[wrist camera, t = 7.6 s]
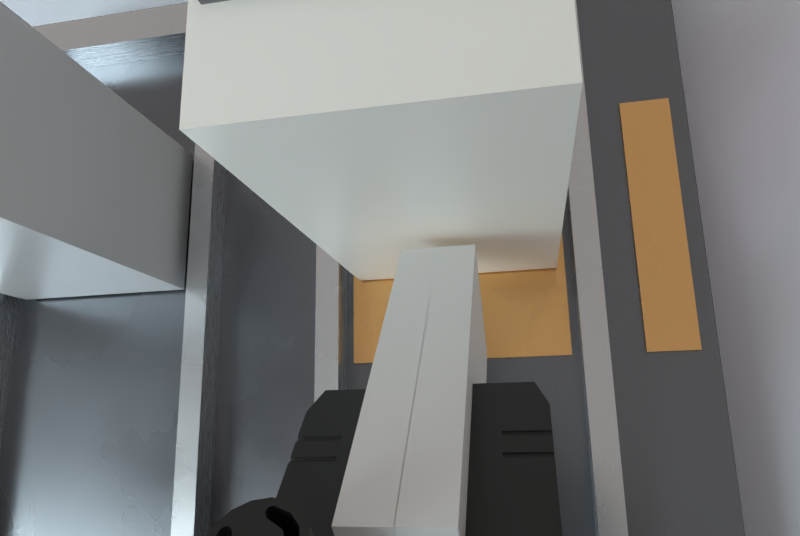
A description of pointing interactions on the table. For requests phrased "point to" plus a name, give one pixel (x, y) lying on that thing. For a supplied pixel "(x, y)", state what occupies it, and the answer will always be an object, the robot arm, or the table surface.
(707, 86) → the table surface
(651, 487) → the grey board
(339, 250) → the white fader
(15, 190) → the block
